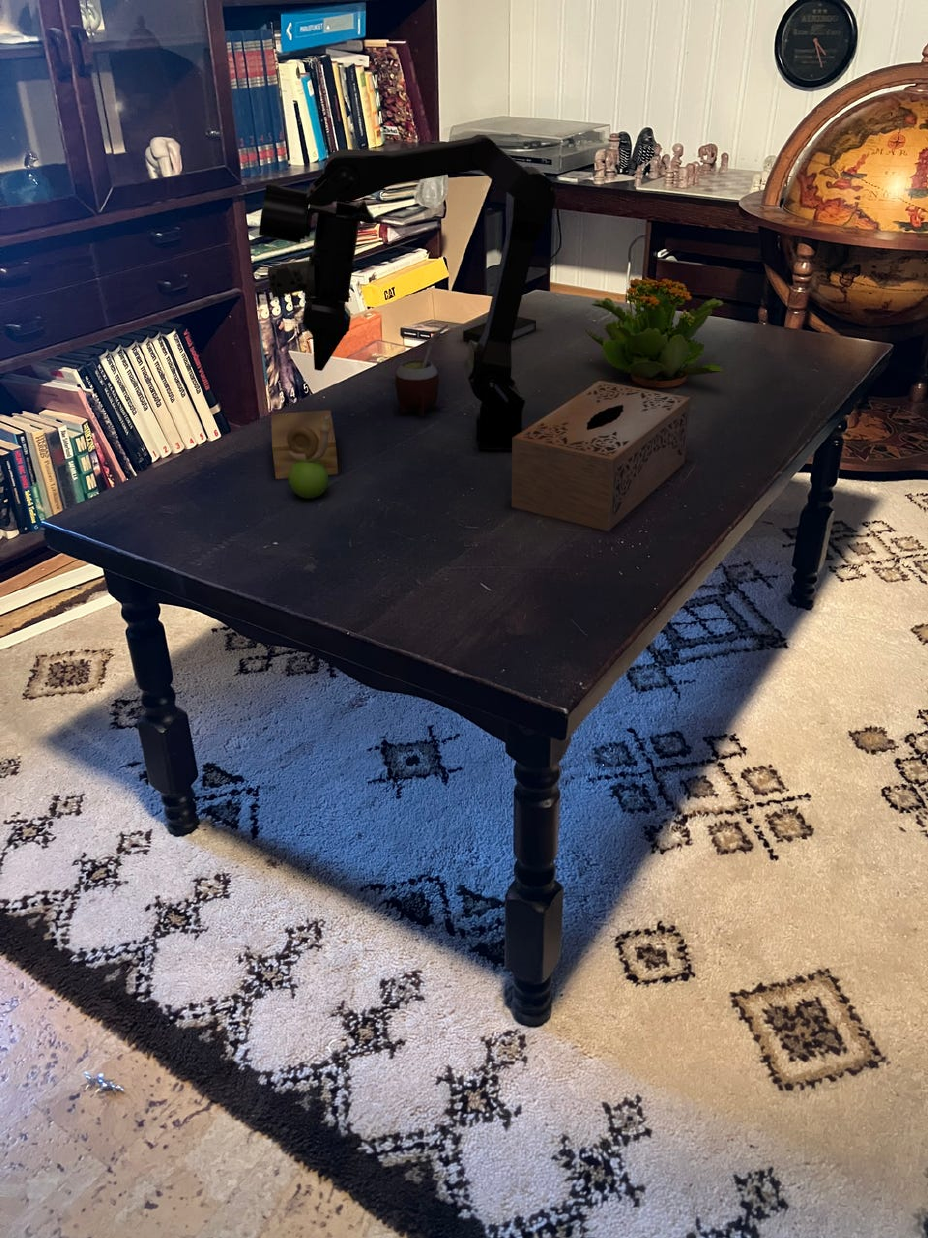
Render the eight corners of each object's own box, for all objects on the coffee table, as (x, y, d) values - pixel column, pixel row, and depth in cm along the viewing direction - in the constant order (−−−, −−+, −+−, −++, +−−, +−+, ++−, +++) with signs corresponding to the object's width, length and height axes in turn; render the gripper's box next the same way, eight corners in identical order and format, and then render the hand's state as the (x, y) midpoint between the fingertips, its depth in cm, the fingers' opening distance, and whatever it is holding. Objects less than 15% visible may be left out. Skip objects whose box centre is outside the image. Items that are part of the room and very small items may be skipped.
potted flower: (759, 386, 181) (773, 283, 172) (657, 416, 170) (667, 307, 161) (658, 351, 199) (666, 255, 190) (561, 375, 188) (564, 275, 179)
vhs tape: (536, 330, 212) (536, 320, 210) (493, 348, 202) (493, 337, 201) (506, 324, 216) (506, 314, 214) (463, 341, 206) (462, 331, 205)
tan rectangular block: (332, 440, 164) (330, 409, 161) (338, 474, 153) (335, 441, 150) (274, 444, 162) (271, 414, 160) (275, 479, 151) (272, 446, 149)
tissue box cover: (608, 531, 136) (612, 459, 131) (511, 506, 143) (512, 437, 137) (684, 462, 154) (691, 397, 149) (595, 443, 161) (599, 380, 156)
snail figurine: (329, 506, 143) (322, 423, 137) (285, 503, 144) (275, 420, 138) (341, 490, 148) (334, 408, 142) (298, 487, 149) (289, 406, 143)
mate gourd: (392, 407, 176) (387, 317, 168) (437, 401, 178) (434, 312, 170) (404, 422, 170) (399, 330, 162) (450, 416, 172) (448, 325, 164)
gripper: (277, 224, 150) (265, 331, 158) (272, 254, 134) (258, 371, 142) (354, 239, 152) (338, 344, 160) (358, 270, 136) (340, 384, 144)
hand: (318, 359), depth 151 cm, fingers open, 9 cm apart
